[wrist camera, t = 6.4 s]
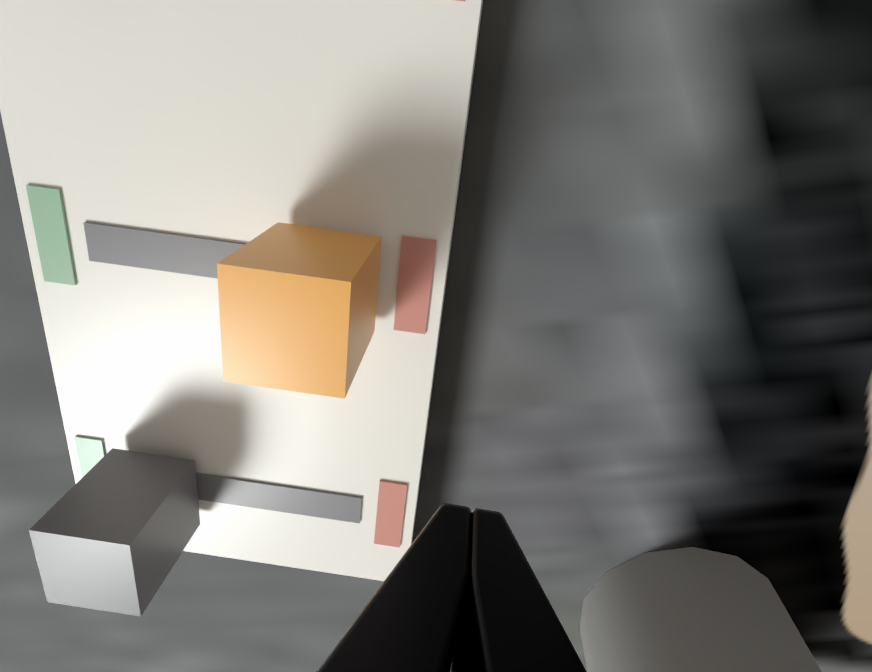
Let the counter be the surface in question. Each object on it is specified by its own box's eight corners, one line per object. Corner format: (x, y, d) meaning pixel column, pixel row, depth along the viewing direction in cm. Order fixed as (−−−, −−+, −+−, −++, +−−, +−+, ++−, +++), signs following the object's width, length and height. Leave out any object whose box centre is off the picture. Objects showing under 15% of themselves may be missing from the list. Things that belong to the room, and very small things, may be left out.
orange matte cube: (278, 317, 17) (223, 381, 13) (277, 222, 16) (216, 263, 12) (374, 331, 17) (344, 398, 13) (381, 236, 16) (351, 281, 12)
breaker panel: (116, 502, 24) (84, 538, 22) (-15, -287, 14) (-96, -347, 12) (411, 545, 24) (405, 586, 22) (512, -227, 13) (517, -278, 11)
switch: (122, 512, 21) (47, 601, 17) (112, 448, 20) (28, 530, 16) (200, 524, 21) (140, 616, 17) (194, 459, 20) (129, 545, 16)
